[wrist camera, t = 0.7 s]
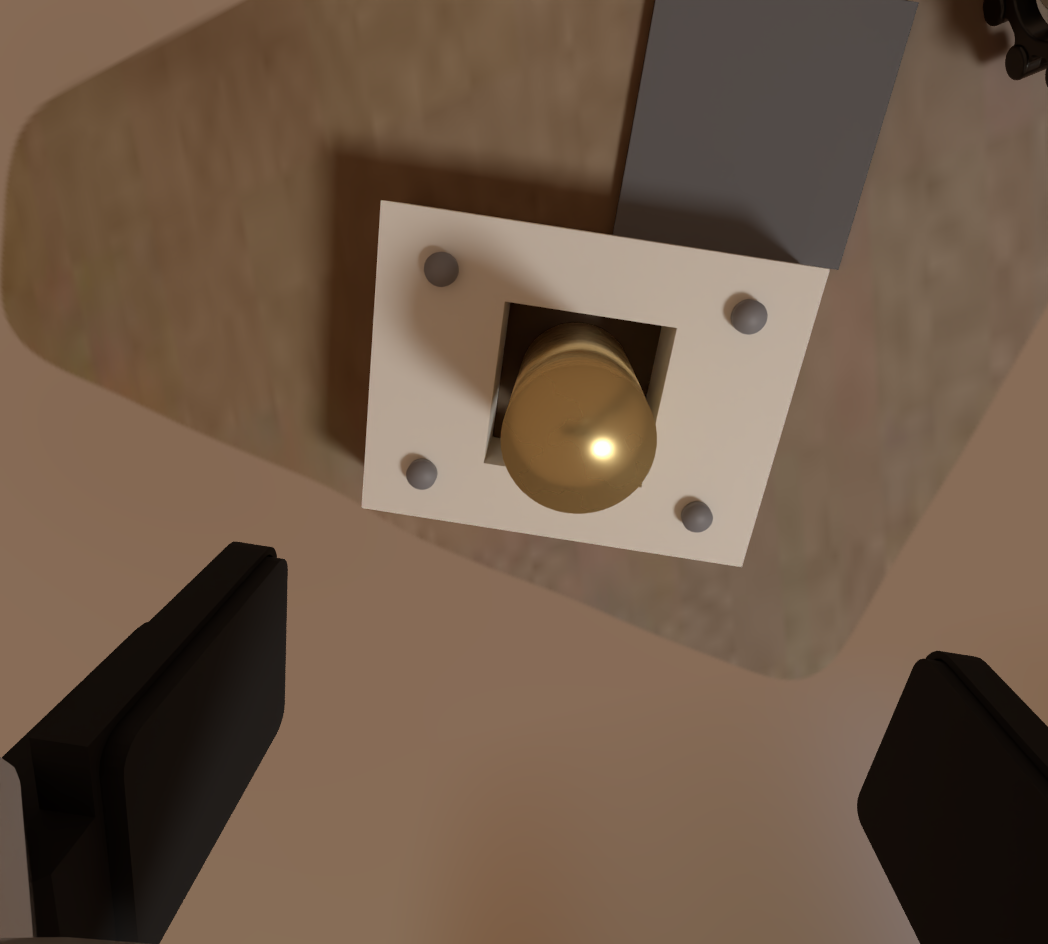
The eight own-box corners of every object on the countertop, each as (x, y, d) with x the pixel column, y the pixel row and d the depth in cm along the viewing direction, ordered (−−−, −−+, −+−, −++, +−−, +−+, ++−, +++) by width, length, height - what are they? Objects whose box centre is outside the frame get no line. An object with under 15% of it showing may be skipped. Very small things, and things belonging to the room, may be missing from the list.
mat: (912, 6, 24) (918, 2, 23) (834, 269, 27) (838, 269, 26) (660, -33, 24) (662, -37, 23) (612, 234, 27) (613, 235, 26)
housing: (797, 263, 27) (834, 270, 23) (723, 530, 31) (744, 571, 27) (403, 202, 27) (377, 199, 23) (383, 477, 31) (358, 511, 27)
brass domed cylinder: (640, 331, 28) (672, 378, 20) (618, 439, 30) (639, 524, 21) (528, 314, 28) (511, 353, 20) (512, 422, 30) (491, 501, 21)
